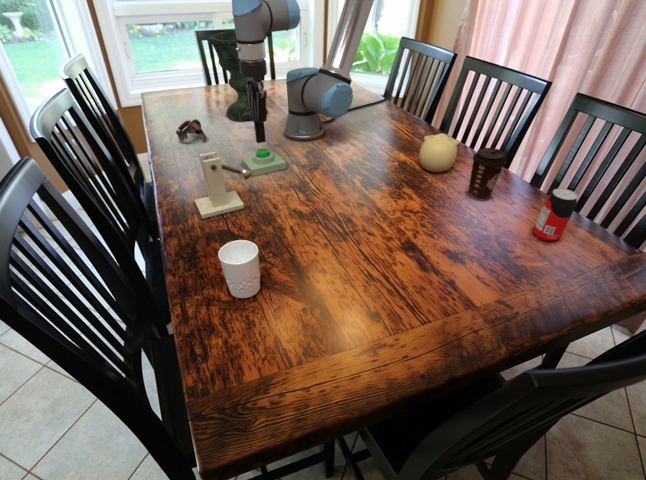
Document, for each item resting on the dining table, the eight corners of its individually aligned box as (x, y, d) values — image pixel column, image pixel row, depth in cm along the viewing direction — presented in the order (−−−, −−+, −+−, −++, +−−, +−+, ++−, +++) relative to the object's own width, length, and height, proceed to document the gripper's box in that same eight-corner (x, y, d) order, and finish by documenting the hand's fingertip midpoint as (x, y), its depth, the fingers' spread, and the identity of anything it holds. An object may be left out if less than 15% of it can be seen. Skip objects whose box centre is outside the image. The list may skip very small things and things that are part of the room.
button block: (275, 157, 133) (274, 146, 130) (286, 168, 126) (285, 157, 123) (242, 164, 129) (240, 152, 126) (251, 176, 122) (250, 164, 119)
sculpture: (455, 163, 128) (463, 131, 121) (449, 178, 119) (456, 145, 112) (422, 157, 131) (427, 126, 124) (413, 172, 123) (418, 139, 116)
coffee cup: (494, 190, 114) (508, 148, 105) (494, 204, 108) (509, 161, 99) (464, 186, 116) (475, 144, 107) (462, 199, 110) (474, 156, 101)
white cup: (228, 276, 85) (220, 240, 79) (263, 274, 86) (258, 238, 79) (224, 301, 79) (215, 265, 73) (262, 299, 80) (257, 262, 73)
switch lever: (246, 177, 109) (250, 167, 107) (249, 182, 107) (254, 172, 105) (202, 164, 101) (206, 153, 100) (205, 169, 99) (209, 158, 97)
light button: (266, 152, 127) (266, 147, 126) (270, 157, 124) (270, 152, 123) (255, 154, 126) (254, 149, 125) (259, 159, 123) (258, 154, 122)
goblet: (282, 111, 169) (277, 33, 150) (249, 126, 155) (239, 42, 135) (245, 102, 178) (235, 28, 159) (210, 117, 164) (195, 37, 144)
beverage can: (557, 246, 93) (579, 203, 85) (529, 238, 95) (548, 196, 88) (560, 233, 97) (581, 191, 89) (534, 225, 99) (552, 184, 92)
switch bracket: (235, 193, 113) (227, 146, 104) (244, 208, 107) (236, 158, 98) (195, 203, 109) (182, 154, 100) (202, 218, 103) (189, 168, 94)
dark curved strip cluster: (205, 146, 141) (189, 129, 135) (186, 155, 145) (170, 139, 140) (212, 126, 148) (197, 109, 142) (194, 135, 152) (179, 119, 146)
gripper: (232, 56, 110) (243, 136, 125) (246, 66, 101) (256, 151, 116) (257, 53, 112) (265, 132, 127) (273, 63, 103) (279, 146, 118)
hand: (261, 141), depth 122 cm, fingers closed
